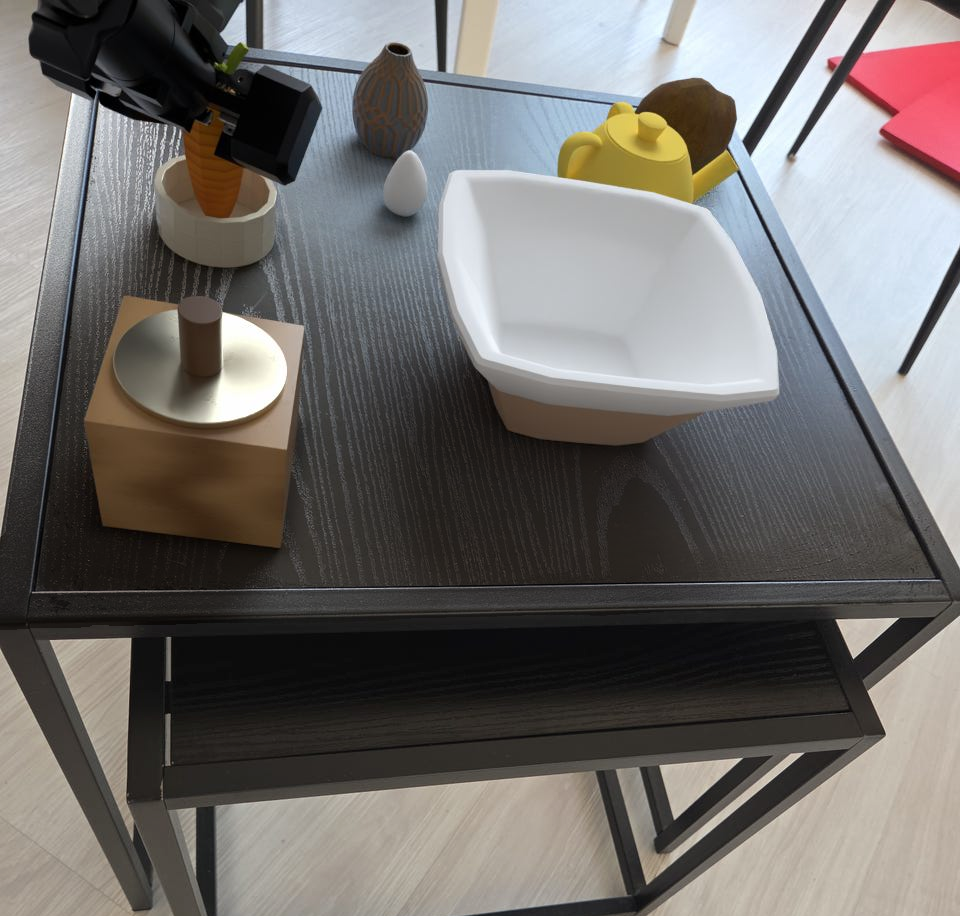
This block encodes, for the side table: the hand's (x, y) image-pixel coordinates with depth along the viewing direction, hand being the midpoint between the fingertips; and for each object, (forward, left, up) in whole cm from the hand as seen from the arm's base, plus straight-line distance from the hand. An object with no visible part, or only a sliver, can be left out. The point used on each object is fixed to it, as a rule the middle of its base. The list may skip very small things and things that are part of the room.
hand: (225, 134), depth 72 cm
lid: (+2, -28, +1) cm, 28 cm away
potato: (+42, +24, -8) cm, 49 cm away
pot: (-1, -1, -8) cm, 8 cm away
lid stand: (+2, -28, -8) cm, 29 cm away
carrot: (-1, -1, -7) cm, 7 cm away
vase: (+12, +17, -8) cm, 22 cm away
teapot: (+35, +9, -8) cm, 37 cm away
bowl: (+28, -13, -8) cm, 32 cm away
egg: (+14, +7, -8) cm, 18 cm away
